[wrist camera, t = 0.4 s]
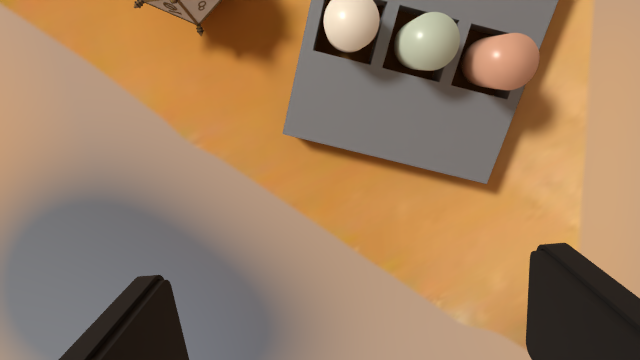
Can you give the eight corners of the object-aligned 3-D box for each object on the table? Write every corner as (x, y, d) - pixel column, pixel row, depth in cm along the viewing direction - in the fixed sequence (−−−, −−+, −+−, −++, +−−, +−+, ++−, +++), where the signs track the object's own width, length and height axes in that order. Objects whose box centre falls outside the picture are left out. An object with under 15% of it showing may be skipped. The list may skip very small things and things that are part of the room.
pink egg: (471, 32, 32) (494, 26, 27) (516, 44, 32) (548, 40, 27) (455, 80, 33) (475, 82, 28) (498, 91, 33) (526, 96, 28)
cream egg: (331, -4, 32) (331, -16, 27) (378, 8, 32) (386, -2, 27) (320, 46, 33) (317, 42, 28) (365, 57, 33) (370, 56, 28)
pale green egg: (401, 14, 32) (413, 5, 27) (447, 26, 32) (467, 19, 27) (388, 63, 33) (396, 63, 28) (432, 74, 33) (449, 76, 28)
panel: (337, -109, 31) (338, -127, 28) (559, -50, 32) (582, -61, 29) (286, 128, 37) (282, 133, 34) (475, 174, 38) (486, 183, 35)
